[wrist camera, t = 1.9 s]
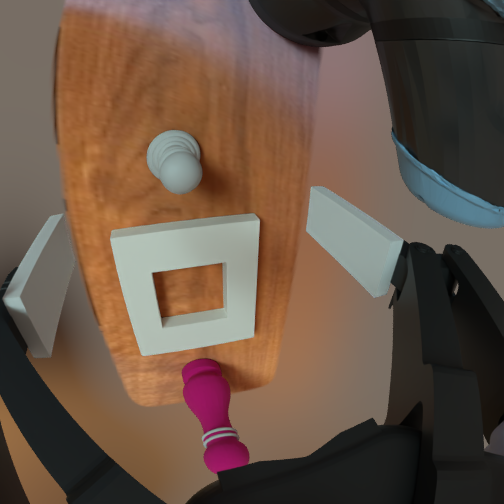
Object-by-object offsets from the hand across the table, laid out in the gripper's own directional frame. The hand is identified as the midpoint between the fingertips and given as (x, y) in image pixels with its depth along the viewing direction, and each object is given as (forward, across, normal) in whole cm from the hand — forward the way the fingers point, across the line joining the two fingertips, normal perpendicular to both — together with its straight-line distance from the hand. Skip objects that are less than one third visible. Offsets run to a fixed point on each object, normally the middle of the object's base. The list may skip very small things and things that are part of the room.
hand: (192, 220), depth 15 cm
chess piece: (+16, 0, 0) cm, 16 cm away
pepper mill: (+16, +1, -33) cm, 37 cm away
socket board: (+16, +1, -16) cm, 23 cm away
